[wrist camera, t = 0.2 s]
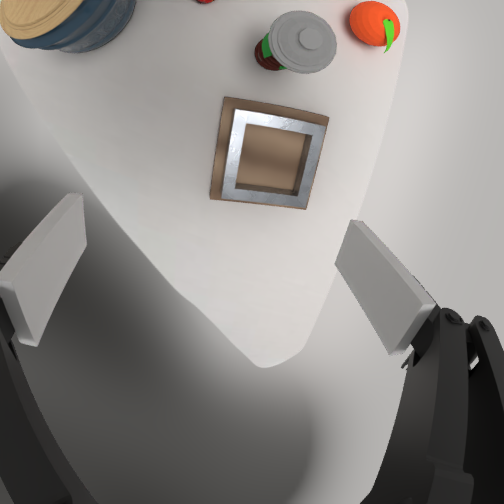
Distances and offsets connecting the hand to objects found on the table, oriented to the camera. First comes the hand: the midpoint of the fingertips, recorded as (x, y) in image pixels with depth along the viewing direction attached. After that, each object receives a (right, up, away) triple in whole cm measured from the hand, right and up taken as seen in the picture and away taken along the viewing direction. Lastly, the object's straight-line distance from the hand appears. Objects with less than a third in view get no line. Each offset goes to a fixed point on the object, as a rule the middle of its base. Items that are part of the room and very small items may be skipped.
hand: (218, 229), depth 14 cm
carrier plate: (+4, +12, +25) cm, 28 cm away
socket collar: (+4, +12, +24) cm, 27 cm away
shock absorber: (+4, +24, +18) cm, 31 cm away
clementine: (+17, +30, +17) cm, 39 cm away
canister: (-19, +30, +10) cm, 37 cm away
